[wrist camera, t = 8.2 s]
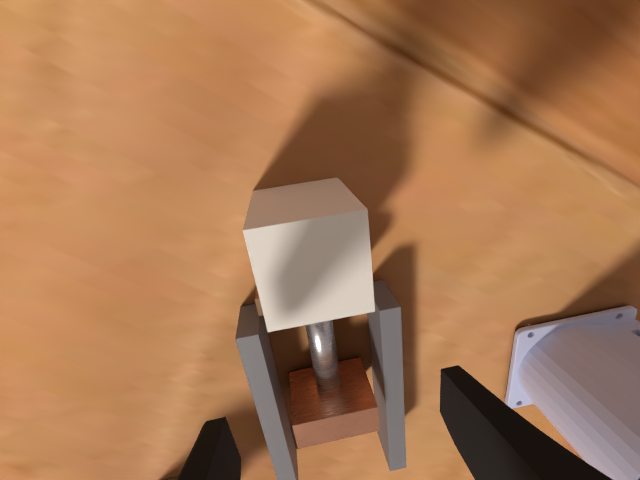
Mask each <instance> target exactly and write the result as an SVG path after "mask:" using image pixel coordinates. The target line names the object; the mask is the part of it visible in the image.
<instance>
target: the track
mask: <svg viewBox="0 0 640 480" xmlns="http://www.w3.org/2000/svg"><path fill="white" fill-rule="evenodd" d="M373 288H374V304H375V312H370V313H367V314H368V326H369V338H370V350H371V362H372V374H373V385H374V397H375V400H376V403H377V406H378V413H379V426H380V430H379V431H377V432H378V435H379V438H380V441H381V445H382V448H383V451H384V454H385V457H386V460H387V463H388V466H389V469H390V471H393V470H397V469H401V468H405V467H406V446H405V415H404V384H403V354H402V323H401V306H400V305H399V303H398V301H397V300H396V298H395V297H394V295H393V294H392V292H391V291H390V289H389V288H388V286H387V285H386V283H385V281H384V280H379V281H373ZM235 339H236V343H237V346H238V350H239V353H240V356H241V360H242V363H243V366H244V370H245V373H246V376H247V380H248V383H249V386H250V390H251V393H252V396H253V400H254V403H255V407H256V410H257V413H258V417H259V420H260V423H261V427H262V430H263V433H264V437H265V440H266V443H267V447H268V450H269V453H270V457H271V460H272V464H273V467H274V470H275V474H276V477H277V480H298V467H297V452H296V447H295V443H294V439H293V434H292V430H291V426H290V422H289V418H288V414H287V410H286V406H285V402H284V398H283V394H282V389H281V385H280V381H279V377H278V373H277V369H276V365H275V361H274V357H273V353H272V349H271V344H270V340H269V336H268V332H267V328H266V324H265V320H264V316H263V315H262V316H259V315H258V311H257V307H256V304H251V305H245V306H241V308H240V314H239V320H238V326H237V332H236V338H235Z"/></svg>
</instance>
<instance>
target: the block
mask: <svg viewBox="0 0 640 480" xmlns="http://www.w3.org/2000/svg"><path fill="white" fill-rule="evenodd" d="M243 233H244V237H245V241H246V245H247V249H248V253H249V257H250V262H251V266H252V270H253V274H254V278H255V282H256V286H257V290H258V294H259V298H260V303H261V307H262V311H263V315H264V319H265V323H266V327H267V331H268V332H272V331H277V330H282V329H288V328H293V327H298V326H303V325H308V324H313V323H318V322H324V321H329V320H334V319H339V318H344V317H349V316H355V315H360V314H365V313H370V312H375V304H374V290H373V276H372V262H371V248H370V234H369V220H368V209H367V208H366V207H365V206H364V205H363V204H362V203H361V202H360V201H359V200H358V198H357V197H356V196H355V195H354V194H353V193H352V192H351V191H350V190H349V189H348V188H347V187H346V186H345V185H344V184H343V183H342V182H341V180H340V179H339V178H338V177H336V178H330V179H323V180H317V181H311V182H305V183H298V184H292V185H286V186H280V187H273V188H267V189H261V190H255V191H253V192H252V196H251V200H250V204H249V208H248V212H247V216H246V220H245V224H244V228H243Z"/></svg>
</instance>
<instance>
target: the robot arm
mask: <svg viewBox="0 0 640 480" xmlns="http://www.w3.org/2000/svg"><path fill="white" fill-rule="evenodd" d="M636 315H637V309H636V308H635V307H633V306H631V305H629V306H624V307H619V308H614V309H609V310H604V311H600V312H595V313H590V314H585V315H580V316H575V317H571V318H566V319H561V320H556V321H551V322H546V323H542V324H537V325H532V326H527V327H522V328H519V329H518V330H517V331H516V332H515V336H514V343H513V350H512V357H511V364H510V370H509V377H508V384H507V391H506V398H505V403H504V402H502V401H501V400H500V399H499V398H498V397H496V396H495V395H494V394H493V393H491V392H490V391H489V390H488V389H486V388H485V387H484V386H483V385H482V384H480V383H479V382H478V381H477V380H476V379H474V378H473V377H472V376H471V375H470V374H468V373H467V372H466V371H465V370H464V369H462V368H461V367H460V366H458V365H457V366H453V367H448V368H444V369H441V387H440V413H441V415H442V417H443V420H444V422H445V424H446V426H447V429H448V431H449V433H450V435H451V437H452V439H453V441H454V444H455V445H456V447H457V449H458V451H459V453H460V454H461V456H462V458H463V459H464V461H465V463H466V465H467V466H468V468H469V470H470V472H471V473H472V475H473V477H474V478H475V480H640V321H638V320H636V319H635V318H636ZM530 404H535V405H536V406H537V408H538V409H539V410H540V411H541V412H542V413H543V414H544V415H545V417H546V418H547V419H548V420H549V421H550V422H551V423H552V424H553V426H554V427H555V428H556V429H557V430H558V431H559V432H560V433H561V435H562V436H563V437H564V438H565V439H566V440H567V441H568V442H569V444H570V445H571V446H572V447H573V448H574V449H575V450H576V451H577V453H578V454H579V455H580V456H581V457H582V458H583V459H584V460H585V461H583V460H582V459H580V458H579V457H577V456H576V455H574V454H573V453H571V452H570V451H569V450H567V449H566V448H564V447H563V446H561V445H560V444H559V443H557V442H556V441H554V440H553V439H551V438H550V437H549V436H547V435H546V434H544V433H543V432H542V431H540V430H539V429H538V428H536V427H535V426H534V425H532V424H531V423H530V422H528V421H527V420H526V419H524V418H523V417H522V416H520V415H519V414H518V413H517V412H515V411H514V410H513V409H512V408H517V407H521V406H526V405H530ZM240 476H241V457H240V455H239V452H238V449H237V447H236V444H235V441H234V438H233V436H232V433H231V430H230V428H229V425H228V422H227V420H226V417H223V418H219V419H214V420H210V421H206V422H205V424H204V425H203V427H202V429H201V431H200V434H199V436H198V438H197V440H196V442H195V444H194V446H193V448H192V450H191V452H190V455H189V457H188V459H187V461H186V463H185V465H184V467H183V469H182V471H181V473H180V475H179V477H178V478H177V480H240Z"/></svg>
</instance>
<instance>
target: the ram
mask: <svg viewBox="0 0 640 480" xmlns="http://www.w3.org/2000/svg"><path fill="white" fill-rule="evenodd" d="M373 290H374V288H373ZM255 303H256V307H257V311H258V315H259V316H262V315H263V311H262V307H261V303H260V298H259V294H258V290H257V286H256V291H255ZM306 331H307V336H308V342H309V347H310V353H311V358H312V364H313V367H311V368H306V369H301V370H296V371H291V372H289V380H290V397H291V413H292V427H293V431H294V435H295V439H296V443H297V447H298V449H299V448H304V447H308V446H313V445H317V444H322V443H326V442H330V441H335V440H339V439H344V438H348V437H353V436H357V435H362V434H366V433H370V432H375V431H379V430H380V426H379V413H378V406H377V403H376V400H375V397H374V394H373V392H372V389H371V386H370V383H369V380H368V377H367V375H366V372H365V369H364V366H363V363H362V360H361V358H360V357H359V358H354V359H350V360H345V361H340V362H338V356H337V349H336V342H335V335H334V327H333V320H329V321H324V322H318V323H313V324H308V325H306Z"/></svg>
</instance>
